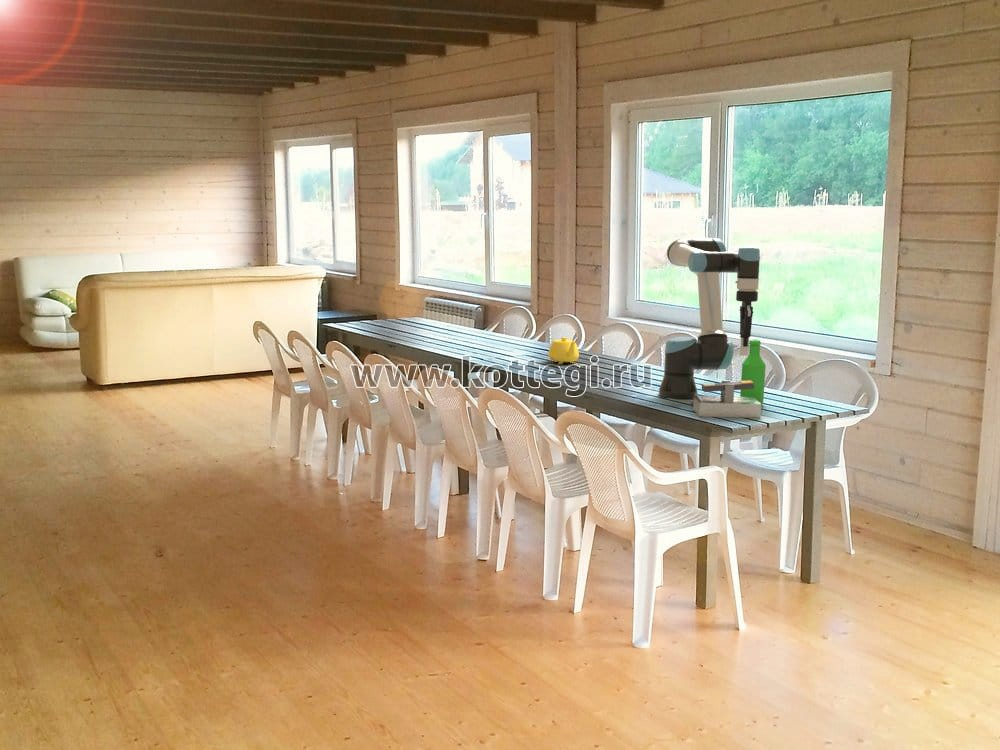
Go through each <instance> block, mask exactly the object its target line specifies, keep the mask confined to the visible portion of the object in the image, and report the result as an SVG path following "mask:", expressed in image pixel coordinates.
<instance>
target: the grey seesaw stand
mask: <svg viewBox="0 0 1000 750" xmlns="http://www.w3.org/2000/svg"><path fill="white" fill-rule="evenodd" d="M727 382H732V381H731V380H721V382H720V383H727ZM693 400H694V401H693ZM693 400H692V401H693V406H692V409H693V411H694V412H695V413H696V414H697V416H698V417H700V416H702V417H705V418H706V417H707V418H708V417H709V418H710V417H711V418H746V417H761V416H762V405H761V403H759V402H758V401H757V400H756V399H755V398H754V397H740V396H735V390H734V384H725V391H720V395H698V394H697V395H696V394H695V393H694V398H693ZM761 418H762V417H761ZM746 419H747V418H746Z"/></svg>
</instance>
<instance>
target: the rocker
mask: <svg viewBox="0 0 1000 750" xmlns="http://www.w3.org/2000/svg"><path fill="white" fill-rule="evenodd" d="M725 384H734V391H738V390H739V391H741V390H742V389H754V383H753V382H752V381H751V380H748V381H741V380H739V381H731V382H727V383H721V382H717V383H716V382H715V383H714V382H703V383H701V390H702V391H703V392H704V393H708V392H709V393H710V392H721V391H725Z"/></svg>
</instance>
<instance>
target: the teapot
mask: <svg viewBox="0 0 1000 750" xmlns="http://www.w3.org/2000/svg"><path fill="white" fill-rule="evenodd" d="M579 355H580V353H579V349H578V345H577V343H576V340H571V339H568V337H566V336H561V339H553V341H552V342H551V344H550V347H549V350H548V357H549V359H550V360H551V361H552V362H553V361H558V362H557V363H558V364H559V363H569V362H571V363H573V362H577V361H578V359H579V358H580V357H579Z"/></svg>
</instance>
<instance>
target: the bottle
mask: <svg viewBox="0 0 1000 750" xmlns="http://www.w3.org/2000/svg"><path fill="white" fill-rule="evenodd" d="M761 345H762V342H761V340H760V339H749V353H748V356H747V357H746V358H745V359H744V360H743V362H742V365H741V376H740V381H748V380H751V381H752V382H753V383H754V389H742V390H740V394H739V395H740V396H739V397H754V398H755V399H756V400H757V401H758V402H759V403H761V406H763V404H764V396H765V384H766V383H765V381H766V365H767V364H766V363H765V361H764V360H763V358H762V356H761V354H760V353H761Z"/></svg>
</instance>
